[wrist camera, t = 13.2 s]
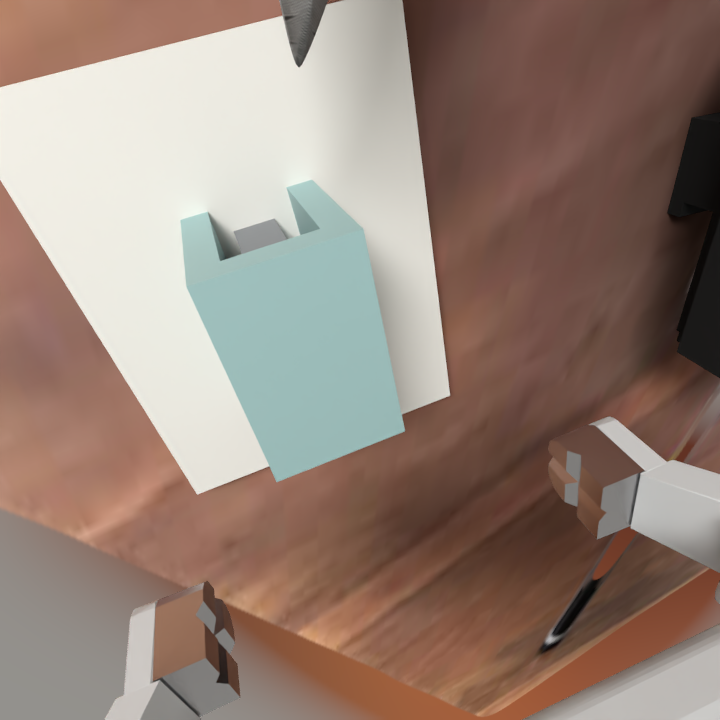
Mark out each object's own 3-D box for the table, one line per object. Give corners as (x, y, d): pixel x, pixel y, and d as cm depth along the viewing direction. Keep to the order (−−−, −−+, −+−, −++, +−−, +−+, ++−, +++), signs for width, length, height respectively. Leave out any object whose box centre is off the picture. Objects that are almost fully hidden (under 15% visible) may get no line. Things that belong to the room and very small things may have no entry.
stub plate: (389, -12, 17) (433, -22, 14) (441, 385, 28) (472, 424, 25) (-39, 96, 15) (-85, 110, 12) (196, 480, 25) (200, 534, 23)
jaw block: (311, 179, 18) (363, 229, 14) (355, 350, 23) (404, 431, 18) (180, 220, 18) (186, 287, 13) (252, 387, 22) (276, 482, 18)
